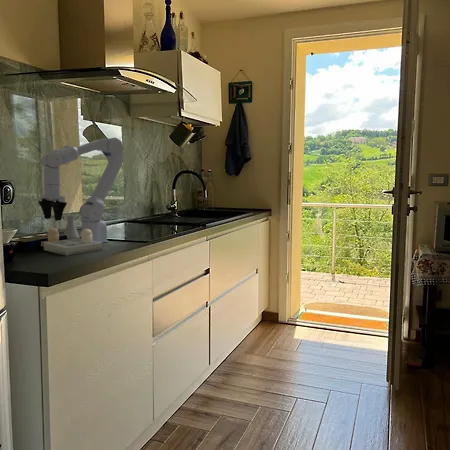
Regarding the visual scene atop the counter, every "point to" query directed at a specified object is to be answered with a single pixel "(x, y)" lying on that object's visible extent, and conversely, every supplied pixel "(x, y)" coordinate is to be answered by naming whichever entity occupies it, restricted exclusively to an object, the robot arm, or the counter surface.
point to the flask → (71, 228)
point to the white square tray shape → (75, 245)
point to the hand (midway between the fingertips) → (52, 219)
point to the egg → (53, 235)
